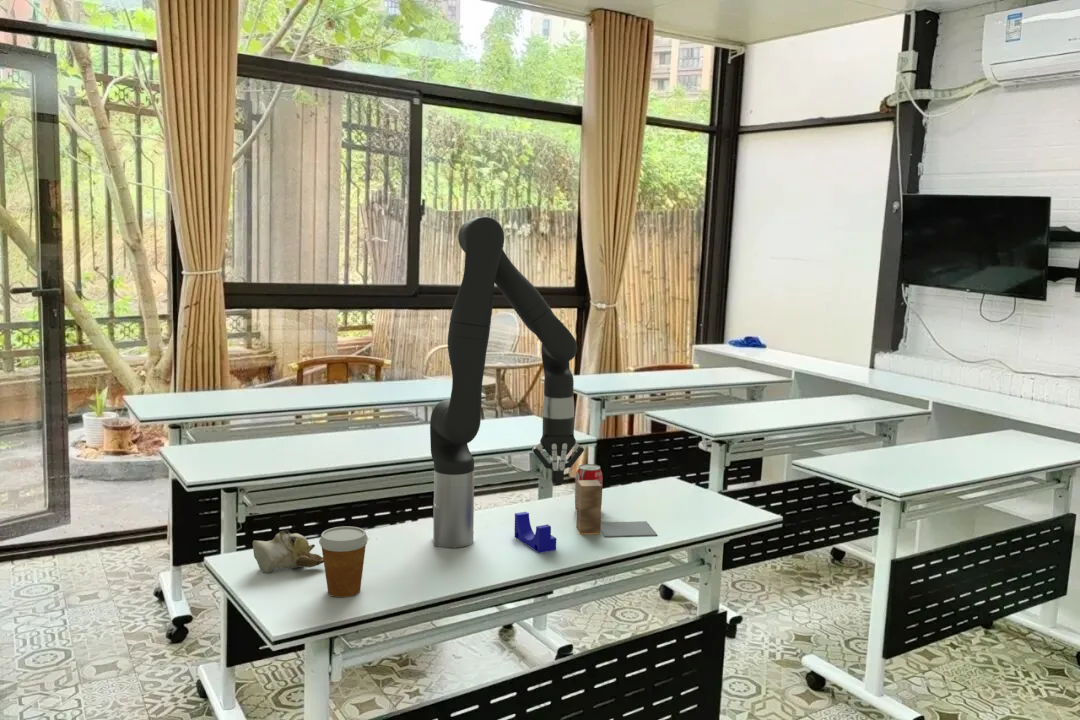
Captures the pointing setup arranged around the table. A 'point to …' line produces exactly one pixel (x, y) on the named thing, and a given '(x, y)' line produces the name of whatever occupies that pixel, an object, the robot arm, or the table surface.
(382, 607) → the table surface
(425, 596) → the table surface
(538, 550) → the cable clip
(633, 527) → the rubber mat
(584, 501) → the light brown wooden block
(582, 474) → the soda can
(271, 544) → the ceramic sculpture
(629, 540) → the table surface
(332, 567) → the disposable coffee cup
